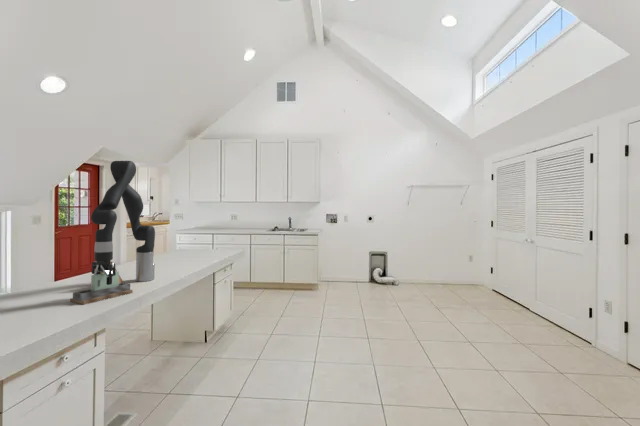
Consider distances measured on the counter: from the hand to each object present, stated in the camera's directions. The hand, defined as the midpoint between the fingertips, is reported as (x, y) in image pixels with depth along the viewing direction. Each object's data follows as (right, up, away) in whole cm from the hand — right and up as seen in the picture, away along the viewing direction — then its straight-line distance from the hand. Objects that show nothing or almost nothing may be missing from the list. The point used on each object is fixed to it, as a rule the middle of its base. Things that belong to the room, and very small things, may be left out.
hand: (103, 283), depth 163 cm
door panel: (0, -5, +1) cm, 5 cm away
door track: (0, -7, 0) cm, 7 cm away
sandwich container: (-12, -7, +24) cm, 28 cm away
